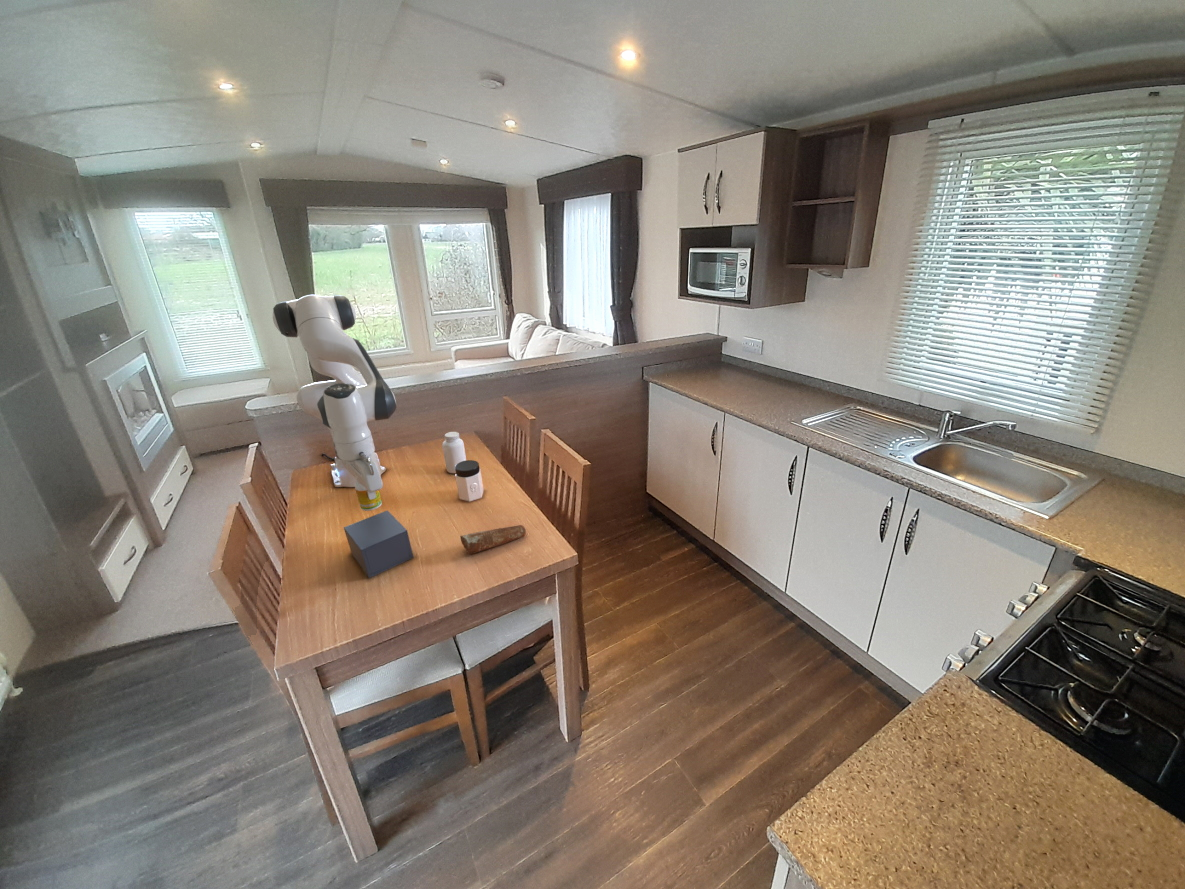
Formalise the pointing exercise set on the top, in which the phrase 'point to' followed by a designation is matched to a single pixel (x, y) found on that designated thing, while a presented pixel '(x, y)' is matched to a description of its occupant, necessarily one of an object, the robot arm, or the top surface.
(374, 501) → the supplement bottle
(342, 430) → the robot arm
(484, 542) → the rusty brown tapered cylinder
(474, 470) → the jar
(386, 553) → the dark grey box
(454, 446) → the pill bottle
